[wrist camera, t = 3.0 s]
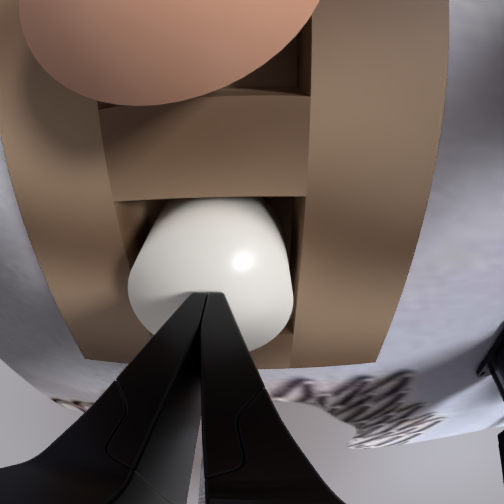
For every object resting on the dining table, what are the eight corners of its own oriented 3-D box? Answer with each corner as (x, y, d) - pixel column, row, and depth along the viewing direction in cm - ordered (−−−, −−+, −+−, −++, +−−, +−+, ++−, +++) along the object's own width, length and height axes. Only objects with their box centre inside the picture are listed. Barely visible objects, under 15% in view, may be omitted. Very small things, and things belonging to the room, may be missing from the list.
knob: (281, 292, 12) (287, 355, 10) (165, 292, 12) (148, 353, 10) (286, 180, 10) (299, 230, 7) (144, 184, 10) (110, 233, 7)
